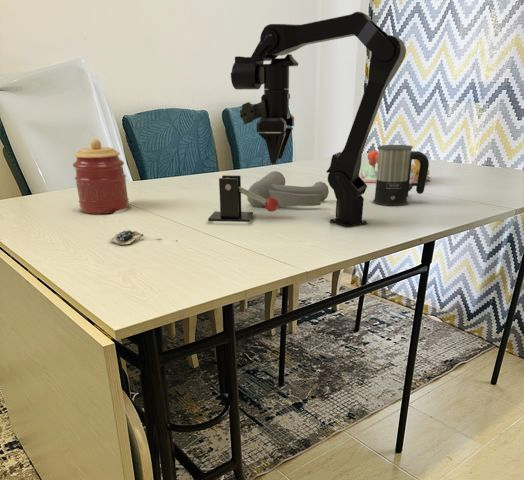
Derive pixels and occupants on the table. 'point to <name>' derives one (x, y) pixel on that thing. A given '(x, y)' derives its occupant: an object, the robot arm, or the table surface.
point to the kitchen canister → (100, 179)
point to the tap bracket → (230, 201)
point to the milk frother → (398, 174)
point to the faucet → (287, 192)
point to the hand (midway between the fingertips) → (276, 161)
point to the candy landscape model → (369, 171)
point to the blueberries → (125, 237)
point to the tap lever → (261, 199)
